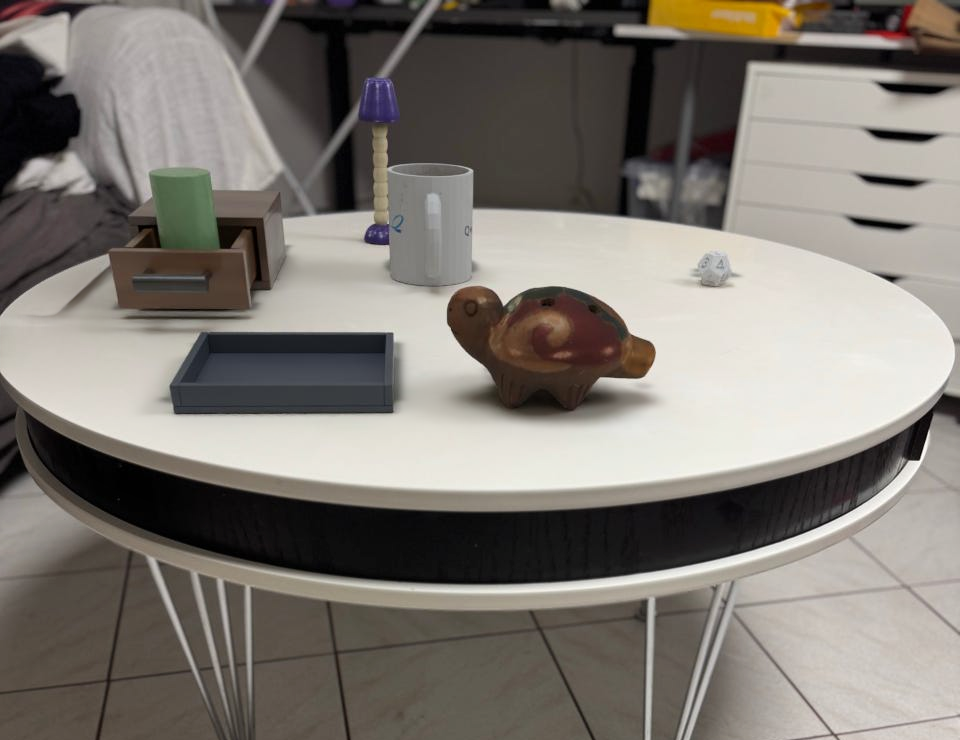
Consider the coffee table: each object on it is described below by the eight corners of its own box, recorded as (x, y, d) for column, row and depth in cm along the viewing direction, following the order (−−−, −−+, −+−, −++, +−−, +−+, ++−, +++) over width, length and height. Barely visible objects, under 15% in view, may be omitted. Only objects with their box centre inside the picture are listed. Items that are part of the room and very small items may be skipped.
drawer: (243, 323, 78) (235, 263, 75) (106, 322, 77) (94, 262, 74) (267, 271, 92) (262, 220, 89) (153, 271, 91) (143, 219, 88)
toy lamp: (410, 240, 109) (407, 78, 100) (386, 247, 106) (381, 80, 96) (379, 235, 111) (373, 75, 102) (354, 241, 108) (346, 77, 99)
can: (161, 285, 83) (142, 176, 77) (172, 271, 87) (155, 166, 82) (219, 286, 83) (204, 176, 78) (228, 271, 87) (214, 167, 82)
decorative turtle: (435, 377, 70) (441, 267, 66) (623, 385, 73) (641, 280, 68) (449, 418, 62) (457, 296, 58) (660, 426, 64) (683, 309, 60)
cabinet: (271, 289, 90) (263, 217, 86) (141, 289, 89) (127, 215, 85) (286, 255, 102) (280, 190, 98) (171, 254, 101) (160, 189, 97)
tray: (174, 413, 63) (169, 385, 62) (204, 356, 73) (201, 331, 72) (393, 412, 64) (392, 384, 63) (394, 356, 74) (393, 332, 73)
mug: (398, 263, 100) (396, 161, 94) (476, 267, 99) (478, 165, 93) (375, 292, 90) (370, 180, 84) (461, 297, 89) (462, 185, 83)
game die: (722, 279, 98) (727, 249, 96) (734, 288, 94) (739, 257, 93) (690, 279, 97) (695, 249, 95) (701, 288, 94) (706, 257, 92)
